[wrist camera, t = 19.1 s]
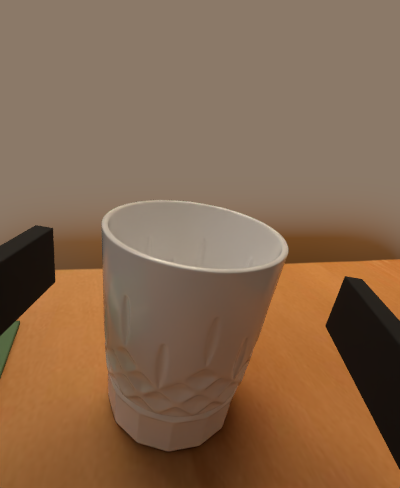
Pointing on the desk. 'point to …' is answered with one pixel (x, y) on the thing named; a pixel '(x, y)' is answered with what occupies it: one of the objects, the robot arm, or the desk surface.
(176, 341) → the white cup
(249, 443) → the desk surface
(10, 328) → the cloth
